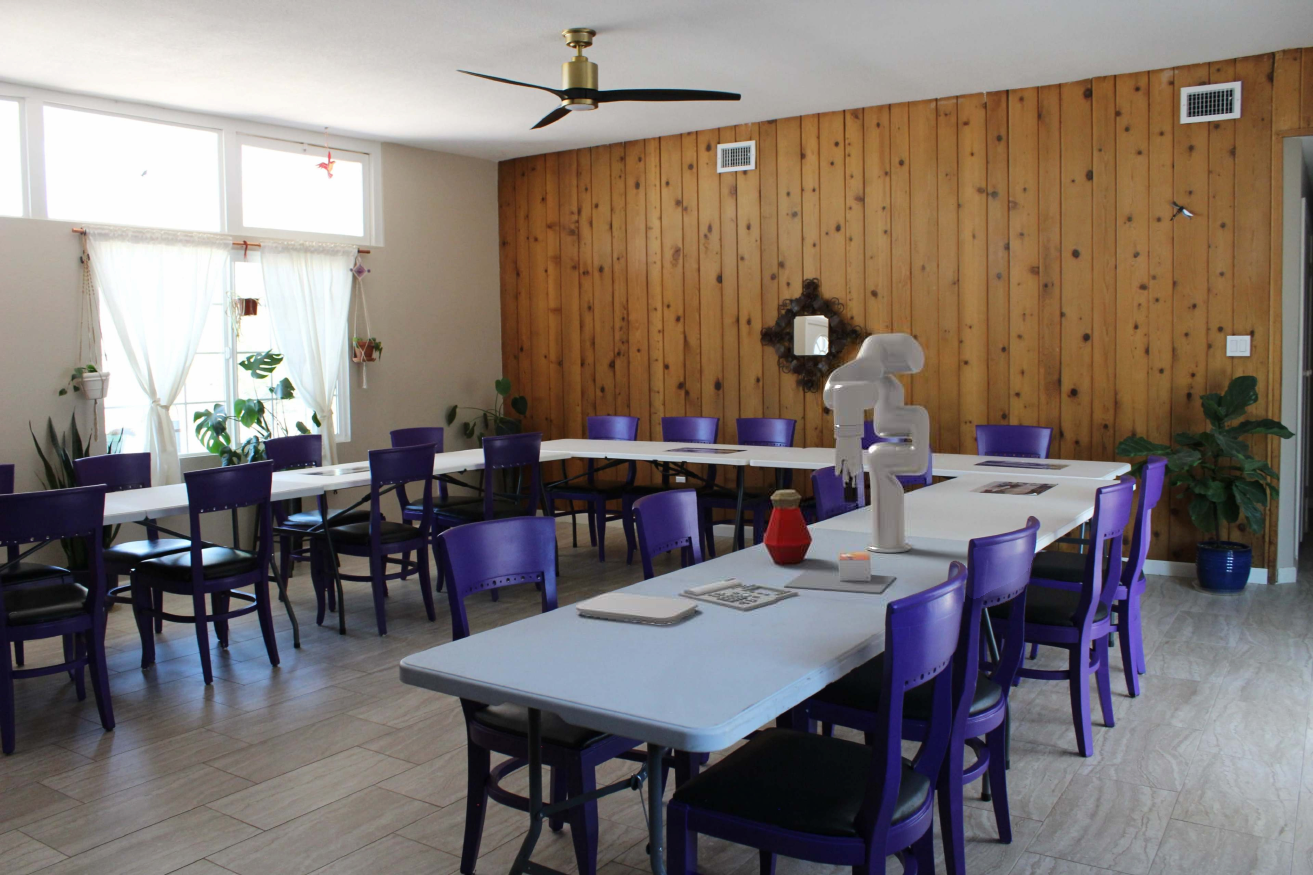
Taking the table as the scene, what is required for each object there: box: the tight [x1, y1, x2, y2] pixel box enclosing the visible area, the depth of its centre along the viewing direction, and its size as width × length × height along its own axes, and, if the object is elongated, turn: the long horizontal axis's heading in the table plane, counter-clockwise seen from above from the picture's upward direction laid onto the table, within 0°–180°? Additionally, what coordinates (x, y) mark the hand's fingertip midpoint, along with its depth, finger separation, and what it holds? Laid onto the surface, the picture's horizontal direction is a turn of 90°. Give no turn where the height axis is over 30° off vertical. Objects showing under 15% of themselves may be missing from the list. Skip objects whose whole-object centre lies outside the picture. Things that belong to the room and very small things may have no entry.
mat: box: [783, 570, 897, 595], centre depth 249 cm, size 18×24×1 cm
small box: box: [838, 551, 872, 581], centre depth 253 cm, size 8×6×10 cm
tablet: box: [575, 592, 699, 625], centre depth 227 cm, size 16×26×2 cm, turn 59°
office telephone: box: [677, 578, 799, 612], centre depth 239 cm, size 23×3×20 cm
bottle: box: [762, 489, 813, 566], centre depth 277 cm, size 16×14×20 cm
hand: (851, 502), depth 253 cm, fingers closed
